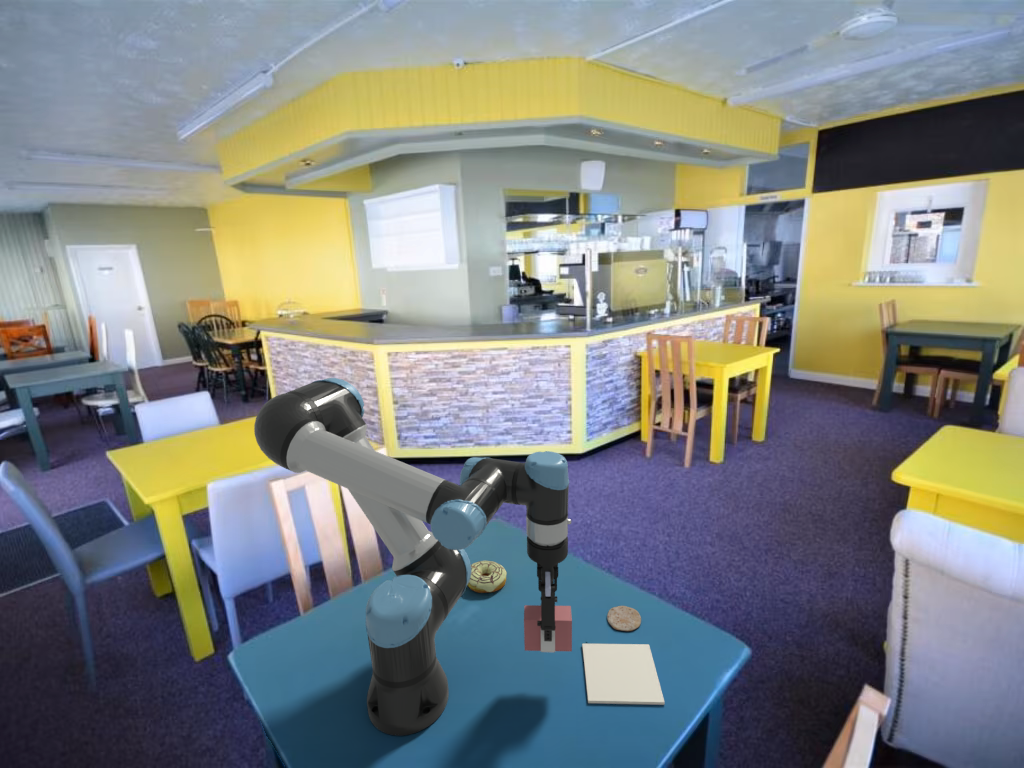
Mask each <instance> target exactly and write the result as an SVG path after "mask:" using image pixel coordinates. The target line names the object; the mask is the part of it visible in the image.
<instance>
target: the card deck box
mask: <svg viewBox="0 0 1024 768" xmlns="http://www.w3.org/2000/svg"><path fill="white" fill-rule="evenodd" d="M523 609H524V610H523V611H524V613H523V628H524V629H523V632H524V633H523V638H524V640H523V641H524V651H529V652H530V651H533V652H538V651H539V652H541V626H537V621H541V605H535V604H534V605H531V604H530V605H527V604H526V605H524V607H523ZM572 617H573V616H572V606H571V605H555V626H556V629H555V652H572V651H573V619H572Z"/></svg>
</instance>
